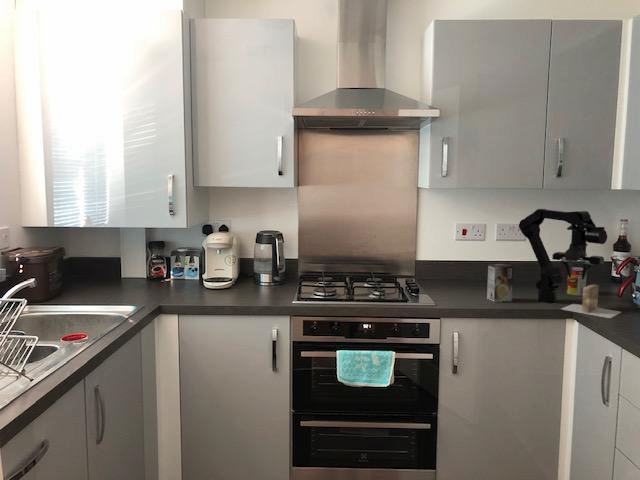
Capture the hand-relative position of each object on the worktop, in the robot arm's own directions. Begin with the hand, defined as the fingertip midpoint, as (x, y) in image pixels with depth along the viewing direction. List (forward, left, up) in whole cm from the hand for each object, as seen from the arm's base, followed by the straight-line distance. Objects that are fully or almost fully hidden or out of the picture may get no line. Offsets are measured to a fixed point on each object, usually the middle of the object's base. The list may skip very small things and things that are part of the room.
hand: (576, 278), depth 219 cm
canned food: (-11, +31, -13) cm, 35 cm away
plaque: (+6, 0, -12) cm, 14 cm away
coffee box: (-29, -9, -13) cm, 33 cm away
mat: (+6, 0, -13) cm, 15 cm away
